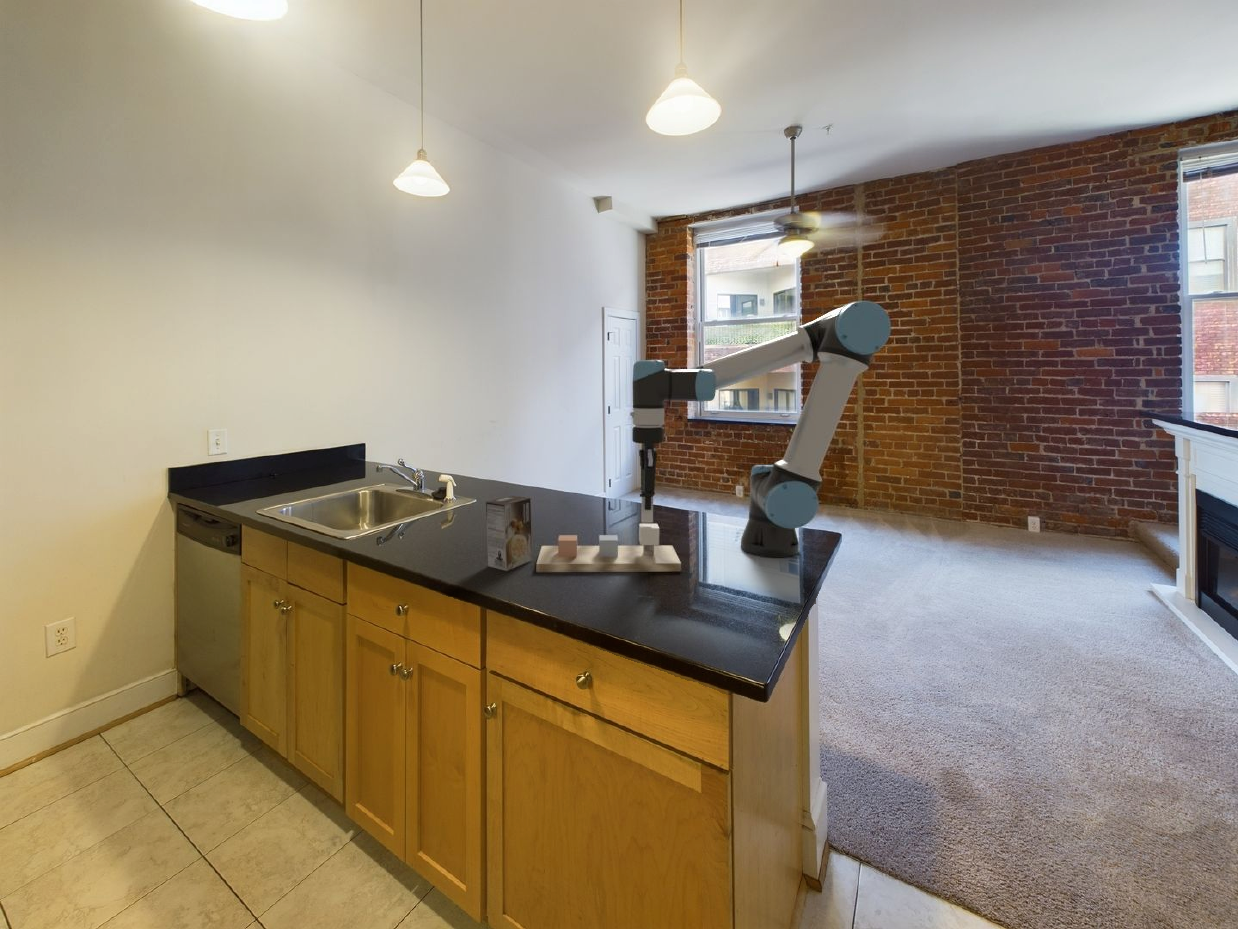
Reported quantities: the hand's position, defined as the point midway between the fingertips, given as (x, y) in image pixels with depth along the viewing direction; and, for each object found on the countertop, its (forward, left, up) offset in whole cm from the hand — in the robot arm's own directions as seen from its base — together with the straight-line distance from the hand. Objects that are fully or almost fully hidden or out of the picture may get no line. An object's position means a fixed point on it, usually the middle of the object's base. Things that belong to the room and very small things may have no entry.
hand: (647, 521), depth 131 cm
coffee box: (+33, +1, -11) cm, 35 cm away
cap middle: (+9, 0, -8) cm, 13 cm away
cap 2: (-1, 0, -5) cm, 5 cm away
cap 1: (+19, 0, -8) cm, 21 cm away
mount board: (+9, 0, -10) cm, 14 cm away
